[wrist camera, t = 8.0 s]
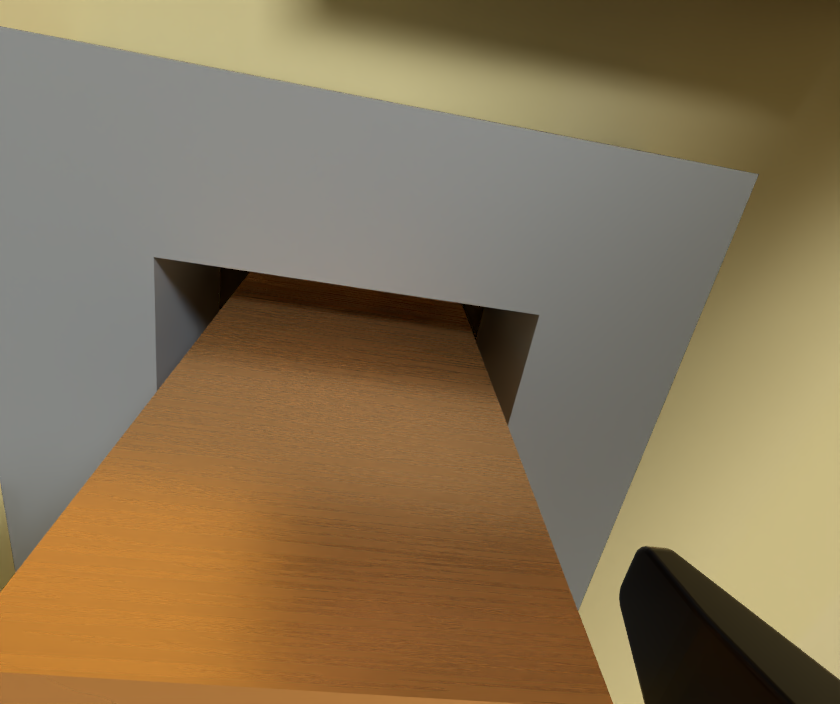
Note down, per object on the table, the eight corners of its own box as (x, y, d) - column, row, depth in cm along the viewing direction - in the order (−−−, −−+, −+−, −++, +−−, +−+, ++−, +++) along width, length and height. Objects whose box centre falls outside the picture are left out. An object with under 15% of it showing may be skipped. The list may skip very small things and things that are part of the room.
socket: (648, 152, 11) (759, 174, 8) (515, 554, 15) (551, 676, 12) (76, 41, 9) (-80, 10, 6) (110, 517, 14) (27, 642, 11)
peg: (454, 284, 12) (615, 708, 4) (420, 439, 13) (477, 978, 5) (264, 253, 11) (-60, 667, 3) (252, 418, 13) (20, 982, 5)
